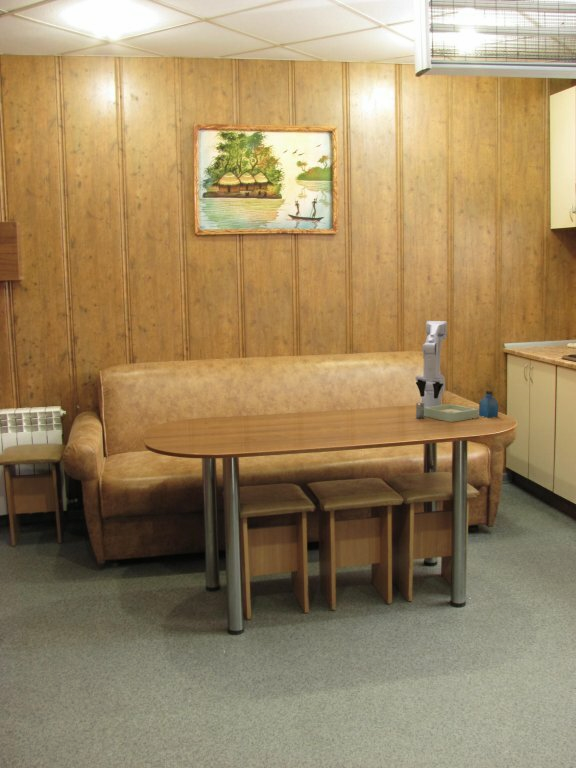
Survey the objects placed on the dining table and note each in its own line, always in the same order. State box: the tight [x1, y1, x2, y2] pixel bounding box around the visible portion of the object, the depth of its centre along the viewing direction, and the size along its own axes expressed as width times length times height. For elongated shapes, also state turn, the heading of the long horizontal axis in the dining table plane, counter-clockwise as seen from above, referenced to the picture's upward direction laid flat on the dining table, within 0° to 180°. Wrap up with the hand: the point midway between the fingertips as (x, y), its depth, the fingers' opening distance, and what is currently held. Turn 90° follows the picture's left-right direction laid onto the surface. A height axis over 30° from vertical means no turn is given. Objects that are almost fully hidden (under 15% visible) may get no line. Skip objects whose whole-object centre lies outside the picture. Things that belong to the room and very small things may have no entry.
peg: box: [415, 402, 425, 420], centre depth 376 cm, size 4×4×7 cm
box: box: [424, 403, 479, 423], centre depth 379 cm, size 18×18×4 cm
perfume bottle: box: [478, 390, 499, 419], centre depth 380 cm, size 6×6×12 cm
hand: (429, 397), depth 374 cm, fingers open, 7 cm apart
